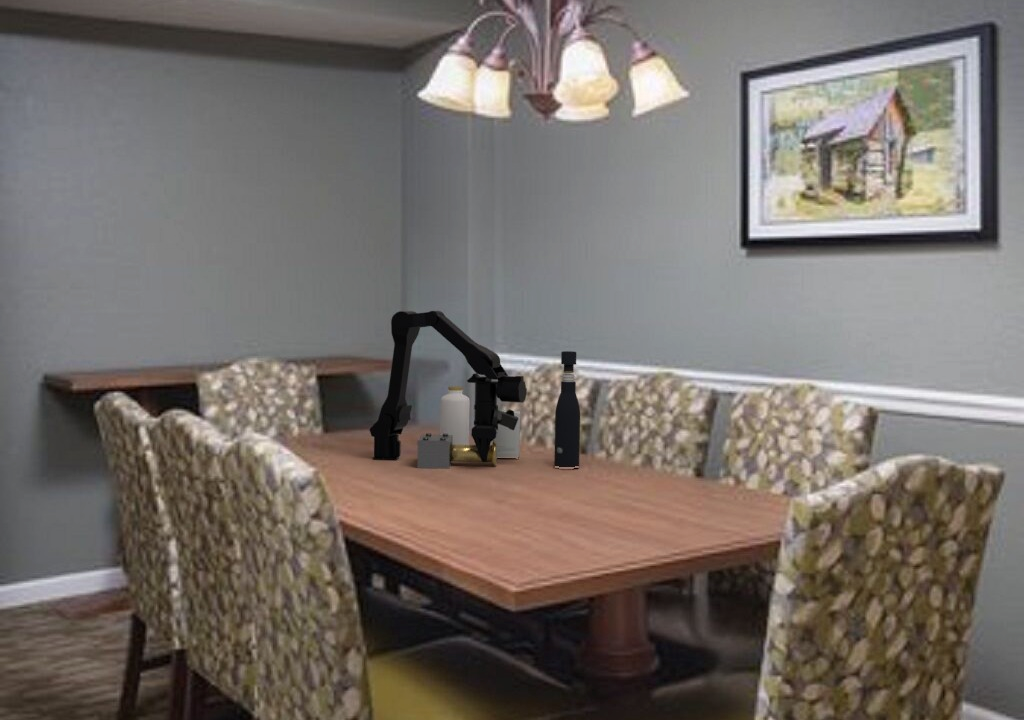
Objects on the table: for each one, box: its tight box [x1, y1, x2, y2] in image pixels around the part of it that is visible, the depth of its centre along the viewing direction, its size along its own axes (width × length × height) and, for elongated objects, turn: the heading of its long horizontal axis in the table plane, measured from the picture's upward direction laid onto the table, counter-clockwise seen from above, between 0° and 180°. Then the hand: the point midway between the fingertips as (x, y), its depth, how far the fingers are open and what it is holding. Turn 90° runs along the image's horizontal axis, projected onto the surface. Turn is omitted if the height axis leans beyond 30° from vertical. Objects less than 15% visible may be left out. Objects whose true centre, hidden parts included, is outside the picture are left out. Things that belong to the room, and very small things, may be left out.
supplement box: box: [492, 410, 521, 458], centre depth 308 cm, size 7×7×13 cm
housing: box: [417, 432, 453, 469], centre depth 293 cm, size 8×12×8 cm, turn 179°
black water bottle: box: [553, 350, 581, 467], centre depth 290 cm, size 6×6×30 cm
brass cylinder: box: [450, 441, 498, 466], centre depth 292 cm, size 16×6×6 cm, turn 89°
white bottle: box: [439, 386, 471, 445], centre depth 321 cm, size 8×8×18 cm
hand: (484, 460), depth 292 cm, fingers closed on brass cylinder, 4 cm apart
